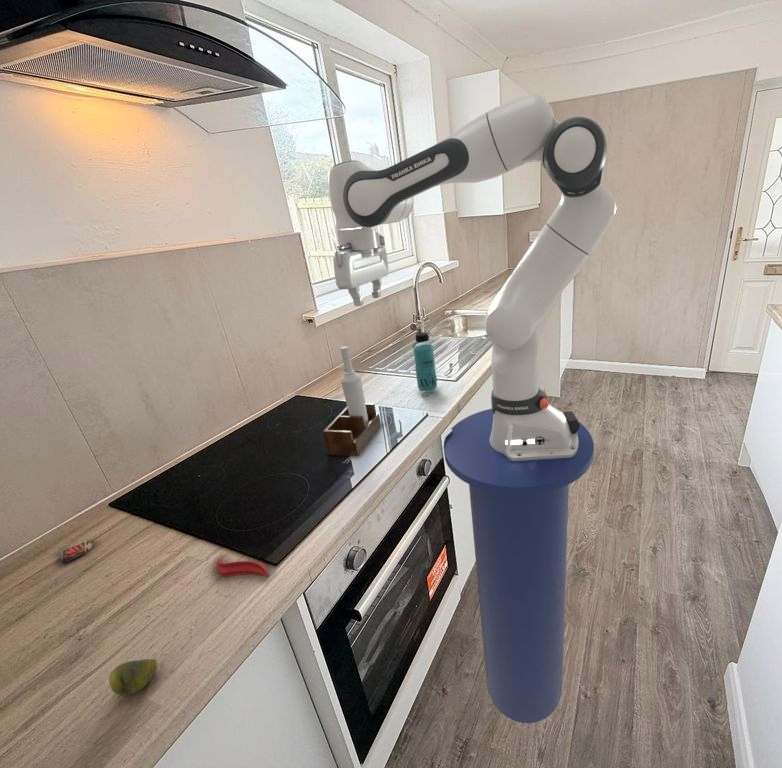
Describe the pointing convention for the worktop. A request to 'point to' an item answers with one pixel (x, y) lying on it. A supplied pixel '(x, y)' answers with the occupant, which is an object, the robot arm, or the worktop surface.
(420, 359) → the beverage bottle
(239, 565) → the cayenne pepper
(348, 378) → the bottle
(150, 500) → the worktop surface
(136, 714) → the worktop surface
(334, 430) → the box
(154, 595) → the worktop surface
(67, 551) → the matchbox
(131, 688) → the olive green oval lump
